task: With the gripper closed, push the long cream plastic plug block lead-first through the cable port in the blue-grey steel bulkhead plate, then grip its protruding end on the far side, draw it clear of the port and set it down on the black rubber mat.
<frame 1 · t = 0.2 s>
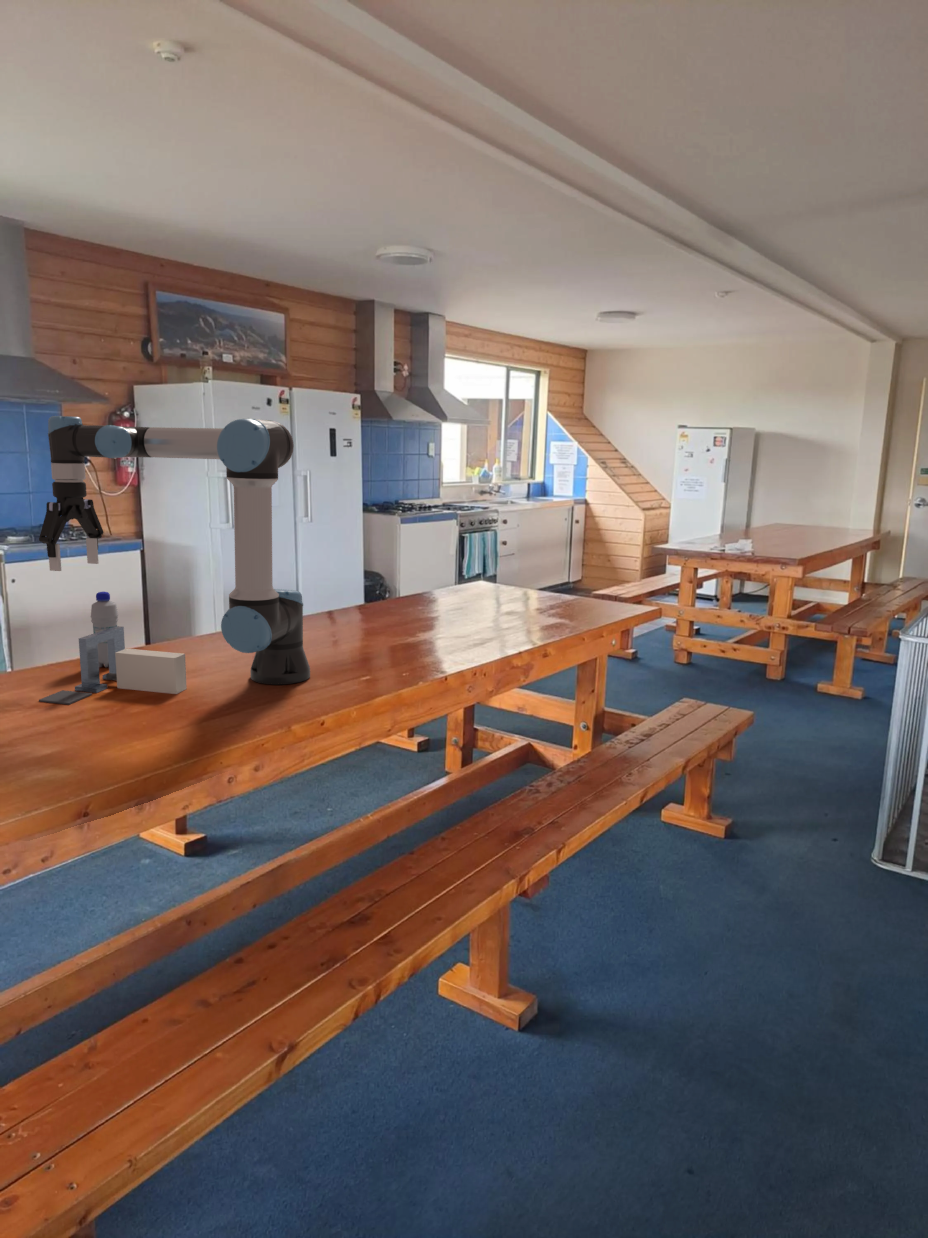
hand: (74, 567, 209), 28 cm above the table, fingers open, 13 cm apart
bottle: (107, 666, 224), on the table
plug: (152, 689, 205), on the table
mat: (65, 698, 195), on the table
port plate: (105, 683, 207), on the table
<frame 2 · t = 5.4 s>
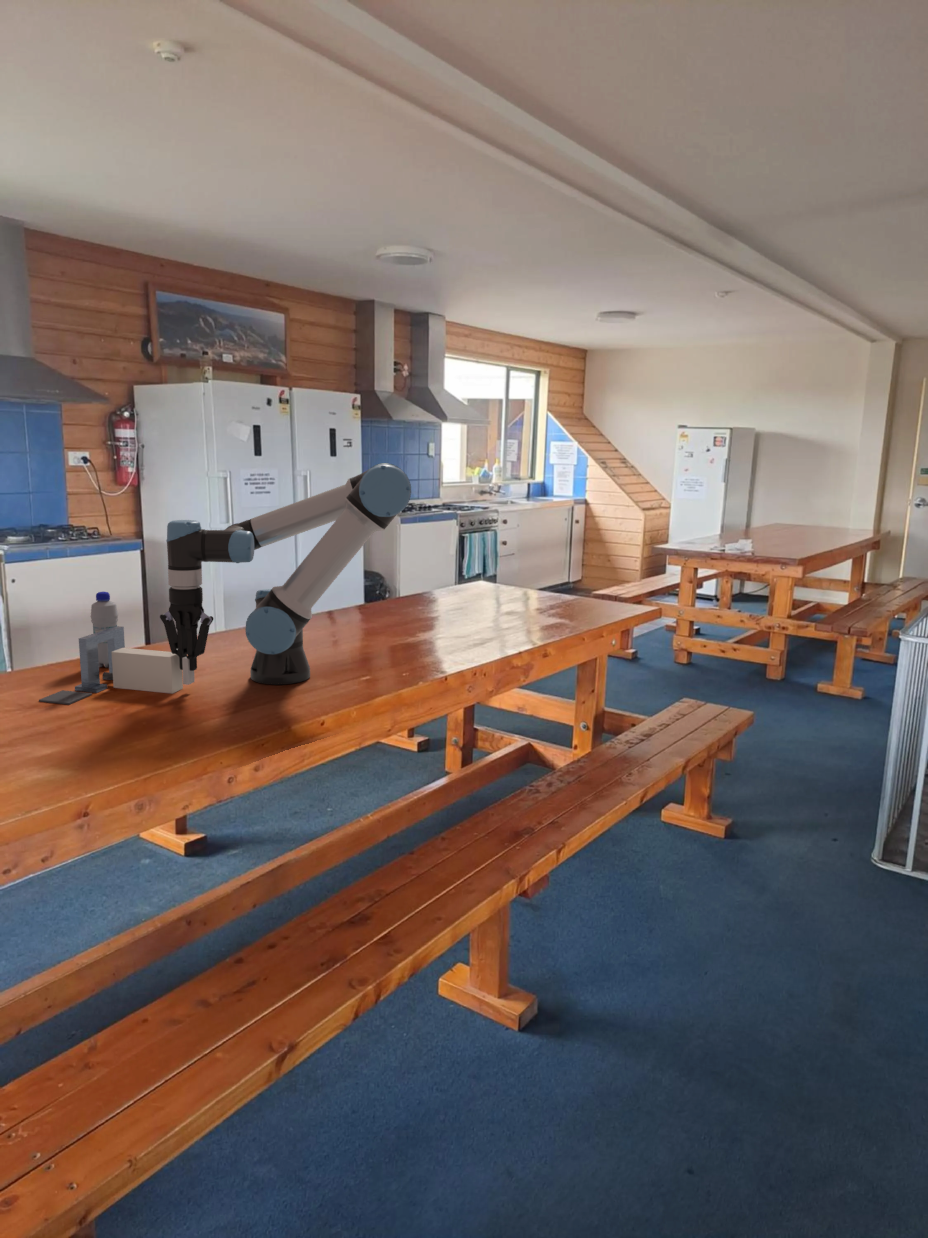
hand: (188, 683, 202), 2 cm above the table, fingers closed
plug: (148, 688, 205), on the table, touching gripper
everything else where it was.
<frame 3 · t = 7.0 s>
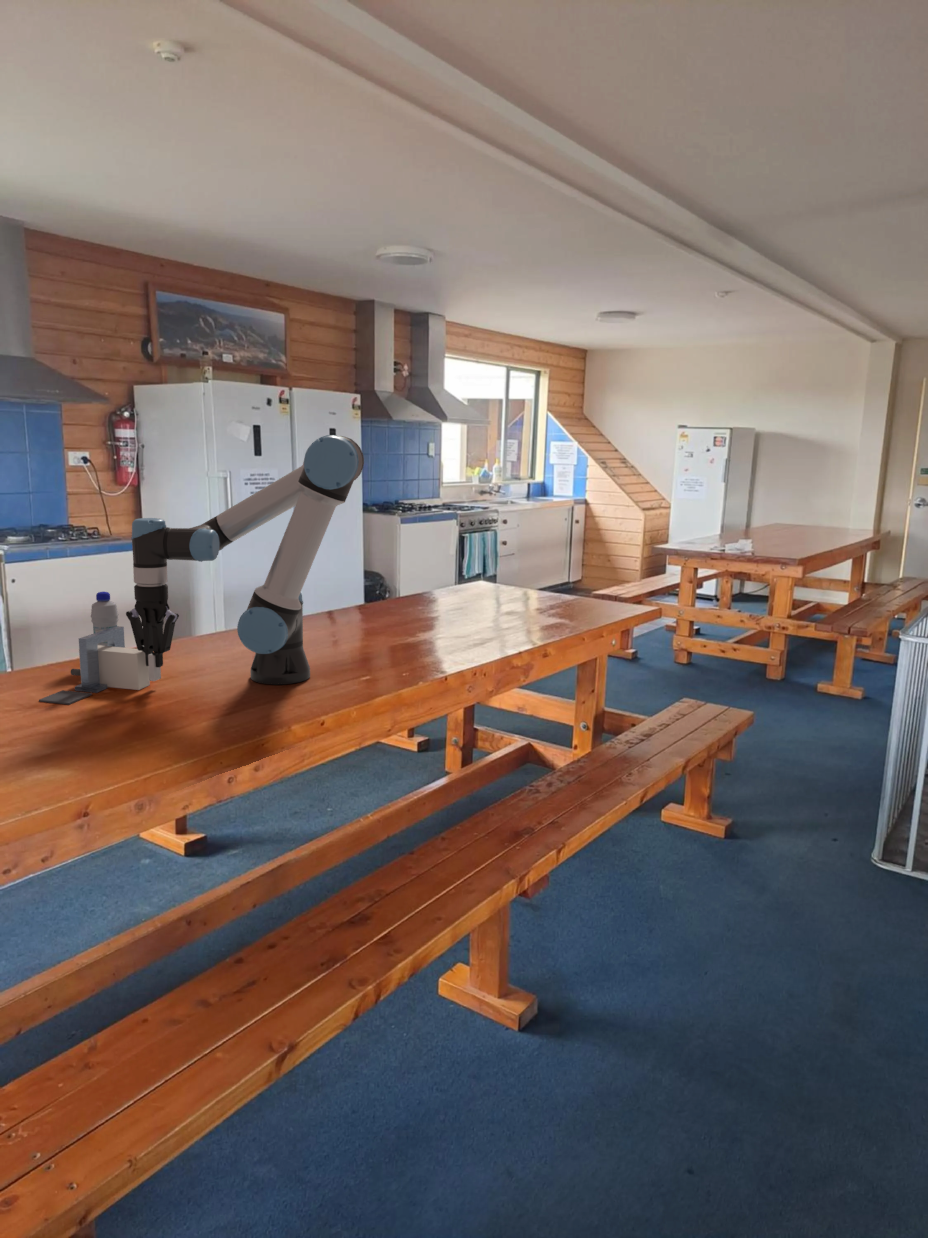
hand: (155, 679, 204), 2 cm above the table, fingers closed
plug: (115, 684, 207), on the table, touching gripper
everything else where it was.
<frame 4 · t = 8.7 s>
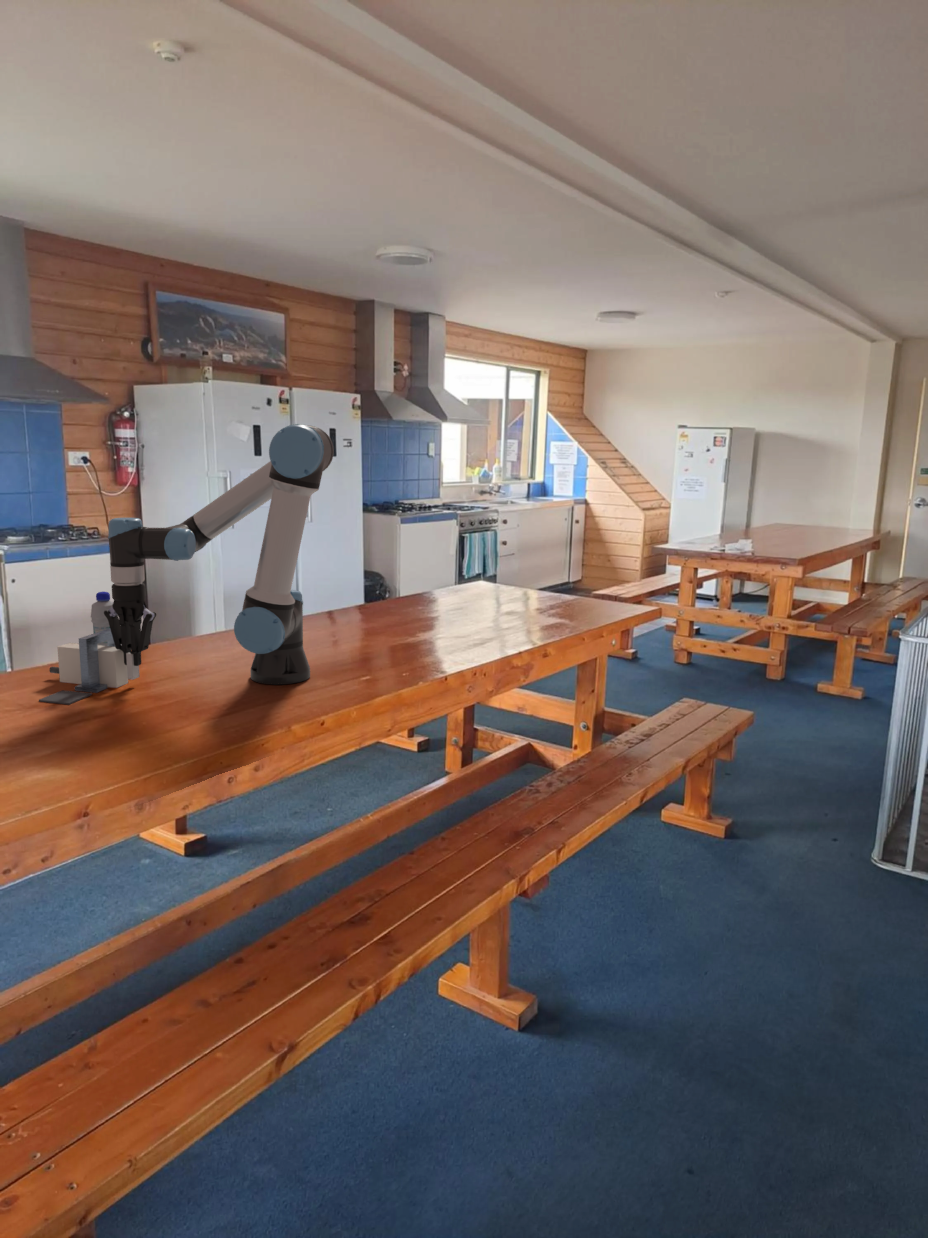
hand: (133, 677, 205), 2 cm above the table, fingers closed
plug: (94, 682, 208), on the table, touching gripper
everything else where it was.
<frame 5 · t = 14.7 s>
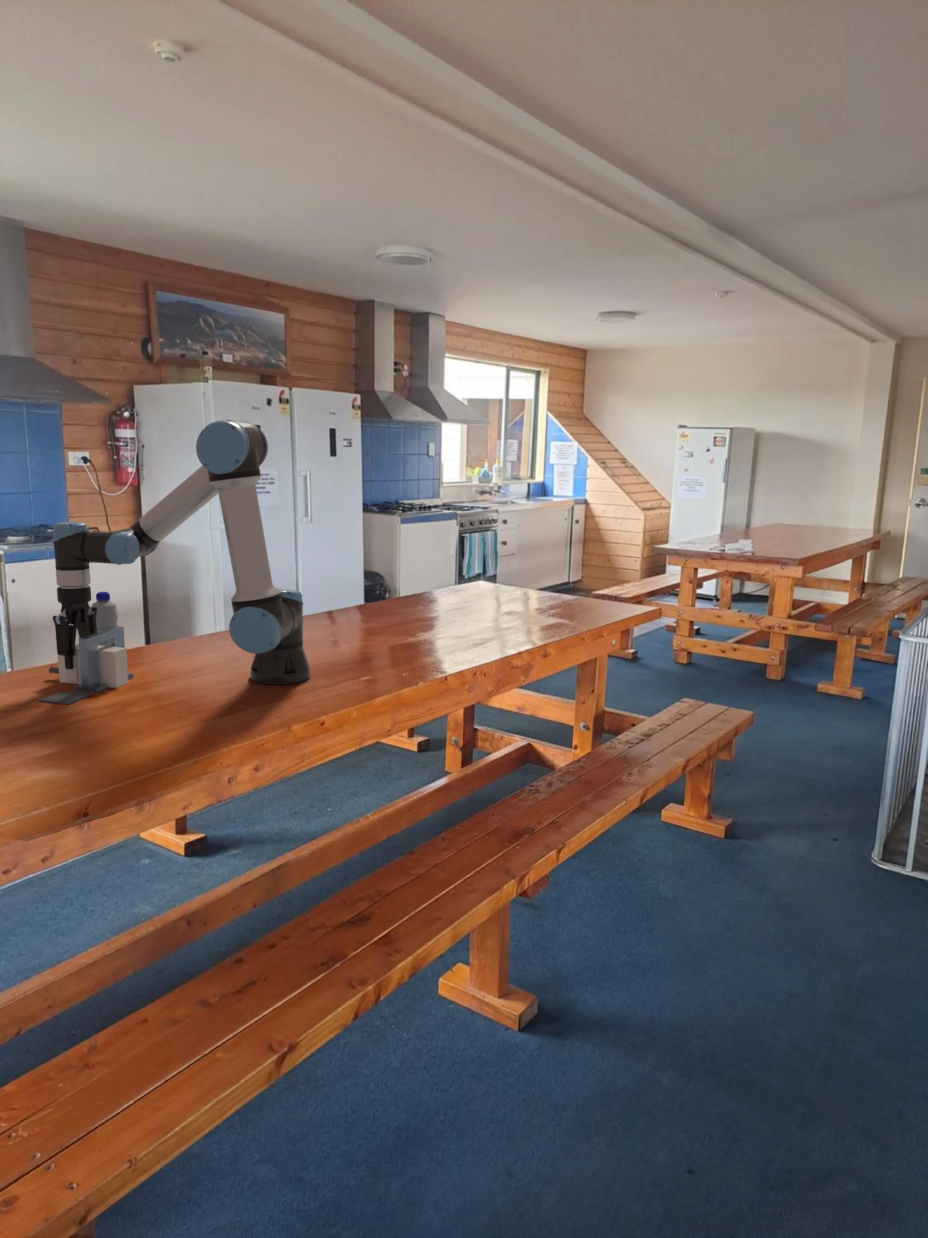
hand: (79, 678, 209), 1 cm above the table, fingers closed on plug, 4 cm apart
plug: (93, 682, 208), on the table, touching gripper
everything else where it was.
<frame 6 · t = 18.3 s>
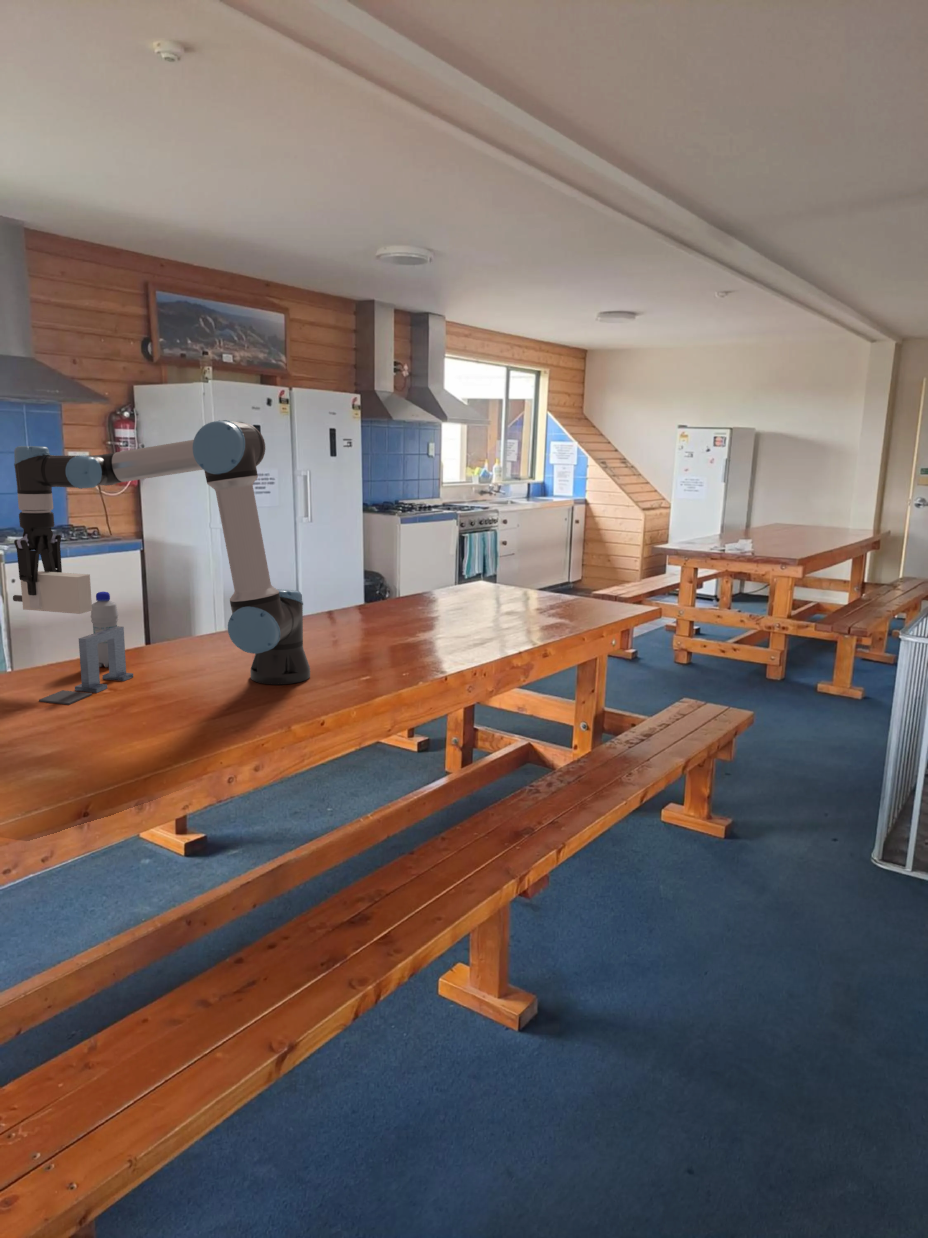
hand: (43, 605, 207), 18 cm above the table, fingers closed on plug, 4 cm apart
plug: (57, 610, 206), point 18 cm above the table, touching gripper
everything else where it was.
when the fingers open (2 cm above the table, at t = 22.1 s): plug stays where it is, resting on mat.
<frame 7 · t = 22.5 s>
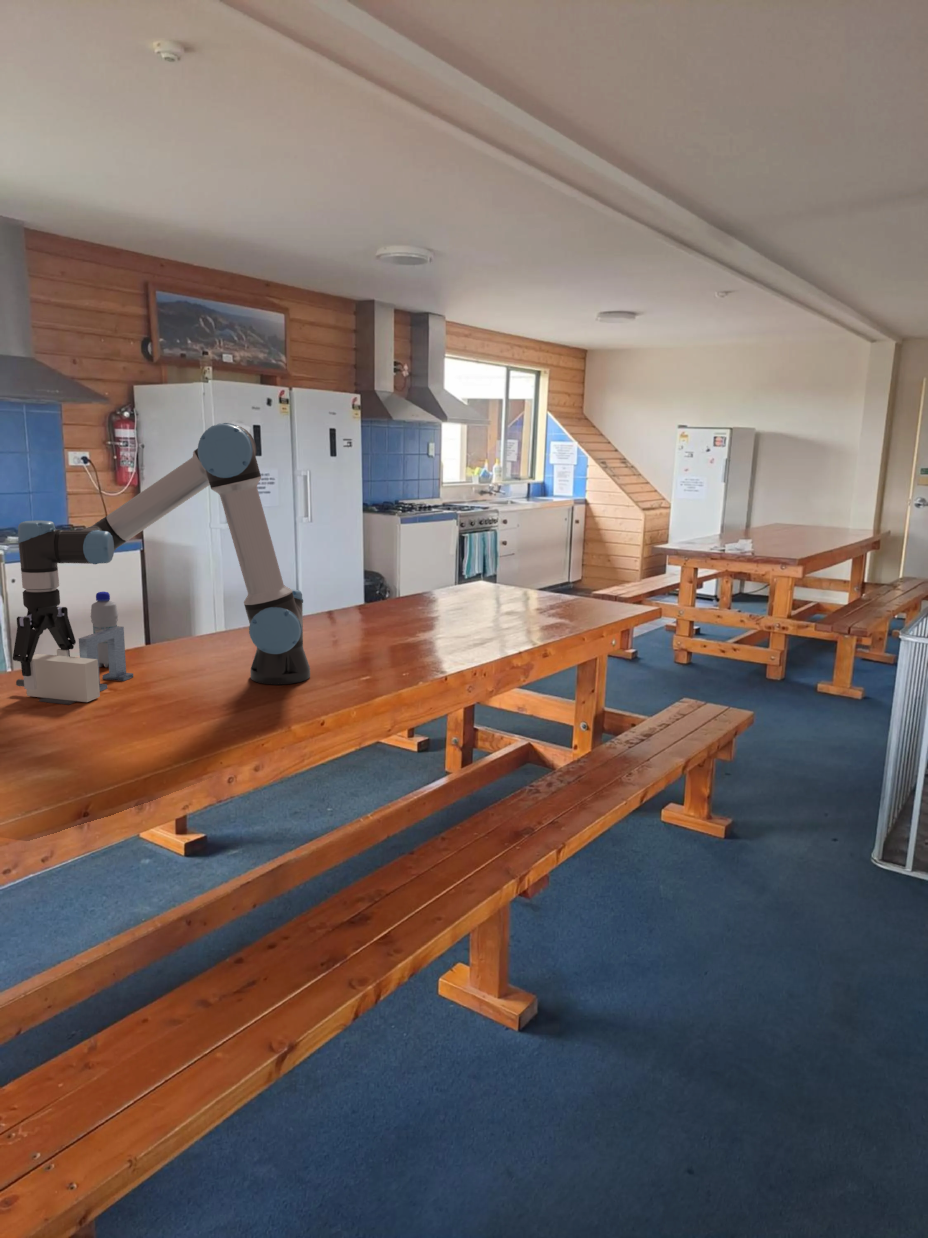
hand: (48, 682, 195), 3 cm above the table, fingers open, 10 cm apart
plug: (63, 696, 195), resting on mat
everything else where it was.
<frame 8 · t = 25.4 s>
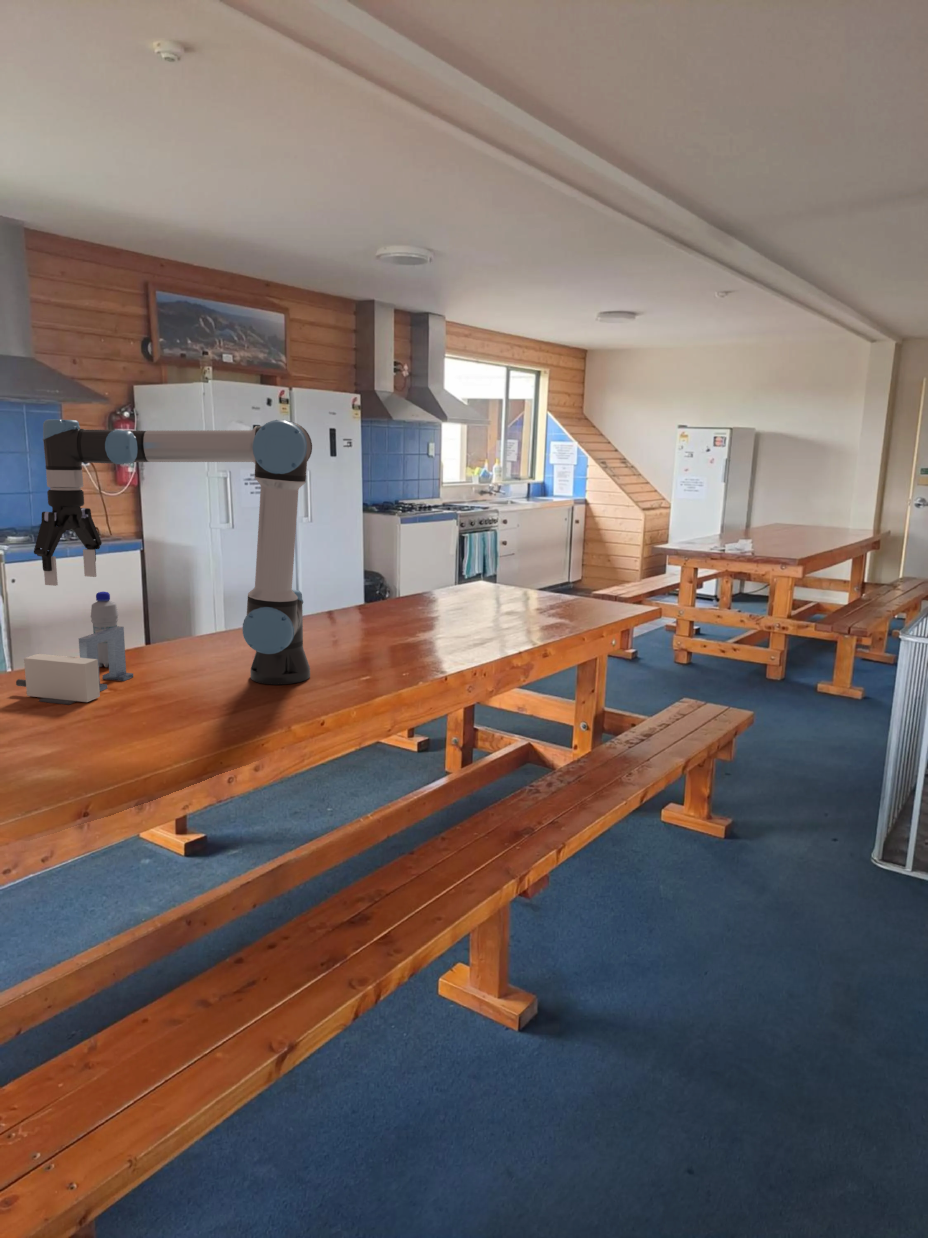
hand: (71, 580, 196), 27 cm above the table, fingers open, 13 cm apart
nothing on the table moved.
at the end: plug inside the target area on the mat (0.6 cm from its centre), point 0.4 cm above the mat's base; plug touching mat; the gripper is holding nothing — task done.
